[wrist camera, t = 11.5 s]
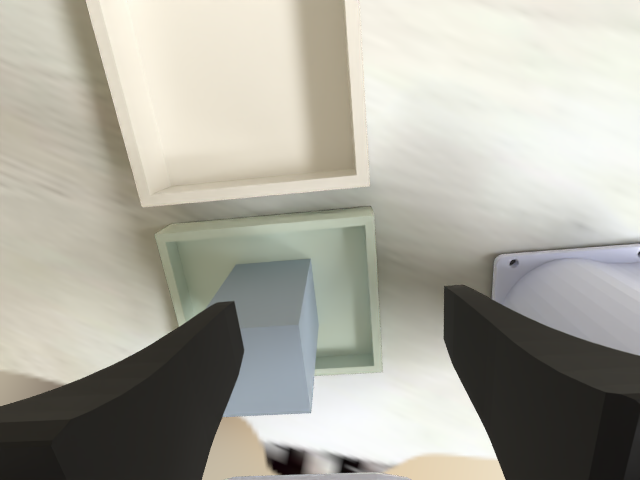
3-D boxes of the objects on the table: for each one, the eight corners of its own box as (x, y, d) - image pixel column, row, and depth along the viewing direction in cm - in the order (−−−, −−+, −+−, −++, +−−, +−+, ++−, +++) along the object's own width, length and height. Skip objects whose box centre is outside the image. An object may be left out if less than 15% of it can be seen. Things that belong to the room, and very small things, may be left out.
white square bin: (350, -78, 16) (352, -116, 13) (365, 177, 20) (369, 186, 17) (108, -41, 17) (66, -71, 14) (166, 196, 21) (141, 207, 18)
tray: (370, 206, 20) (374, 215, 18) (379, 351, 24) (382, 372, 22) (170, 224, 21) (154, 234, 19) (204, 361, 24) (193, 382, 23)
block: (310, 258, 21) (298, 324, 14) (318, 324, 22) (311, 413, 15) (235, 264, 21) (189, 331, 14) (248, 329, 22) (211, 417, 16)
